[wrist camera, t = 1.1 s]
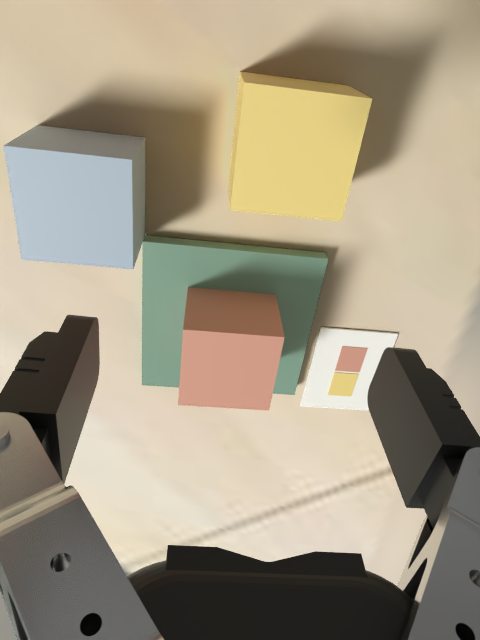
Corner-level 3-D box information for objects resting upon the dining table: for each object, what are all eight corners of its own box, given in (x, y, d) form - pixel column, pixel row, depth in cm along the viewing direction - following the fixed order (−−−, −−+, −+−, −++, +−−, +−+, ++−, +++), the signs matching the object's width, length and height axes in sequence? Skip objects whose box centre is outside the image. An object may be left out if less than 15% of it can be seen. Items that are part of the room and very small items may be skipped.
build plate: (144, 235, 30) (142, 241, 29) (325, 252, 31) (328, 259, 30) (143, 376, 36) (141, 384, 35) (292, 386, 37) (294, 394, 37)
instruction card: (320, 326, 34) (321, 328, 34) (397, 333, 35) (398, 334, 35) (300, 404, 39) (300, 406, 38) (368, 409, 39) (369, 411, 39)
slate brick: (38, 124, 26) (3, 145, 22) (145, 137, 26) (132, 159, 22) (49, 224, 29) (21, 259, 25) (145, 233, 30) (133, 269, 26)
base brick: (187, 286, 31) (182, 329, 27) (275, 294, 31) (284, 337, 27) (183, 357, 34) (178, 404, 30) (262, 362, 35) (268, 410, 30)
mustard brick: (240, 71, 25) (244, 82, 21) (347, 85, 25) (372, 98, 21) (228, 181, 28) (230, 210, 24) (323, 191, 29) (341, 221, 25)
